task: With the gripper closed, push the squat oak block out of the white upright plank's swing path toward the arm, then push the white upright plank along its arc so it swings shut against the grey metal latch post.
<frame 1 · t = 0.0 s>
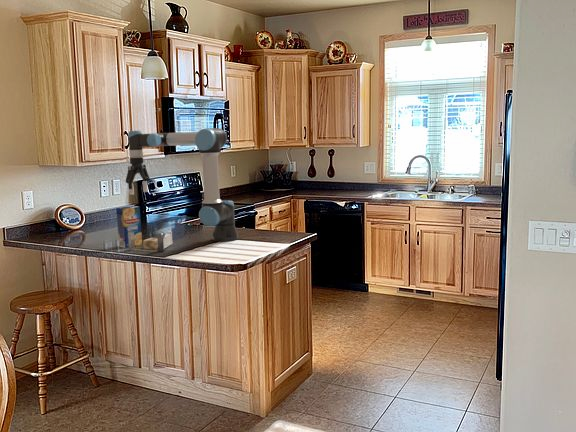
hand: (138, 193, 344), 28 cm above the countertop, fingers open, 13 cm apart
latch post: (132, 249, 320), on the countertop
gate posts: (161, 251, 313), on the countertop
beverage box: (130, 246, 332), on the countertop
oak block: (153, 248, 324), on the countertop
white upright plank: (166, 240, 322), point 4 cm above the countertop, hinge at 75.0°
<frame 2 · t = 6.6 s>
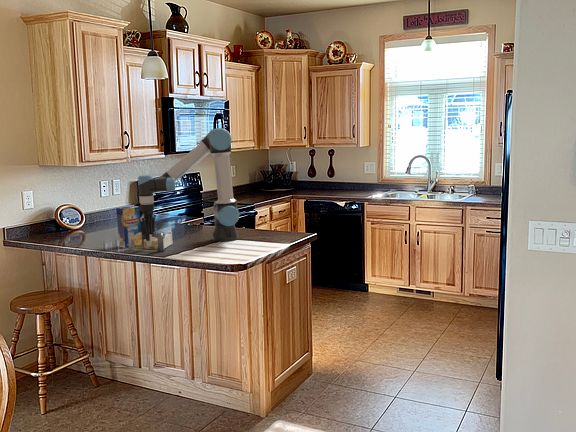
hand: (149, 246, 320), 2 cm above the countertop, fingers closed
oak block: (154, 247, 325), on the countertop, touching gripper
everything else where it was.
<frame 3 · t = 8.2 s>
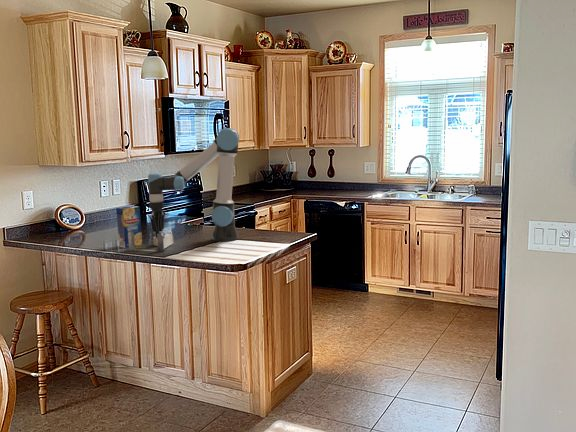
hand: (159, 242, 328), 2 cm above the countertop, fingers closed
oak block: (163, 244, 333), on the countertop, touching gripper
everything else where it was.
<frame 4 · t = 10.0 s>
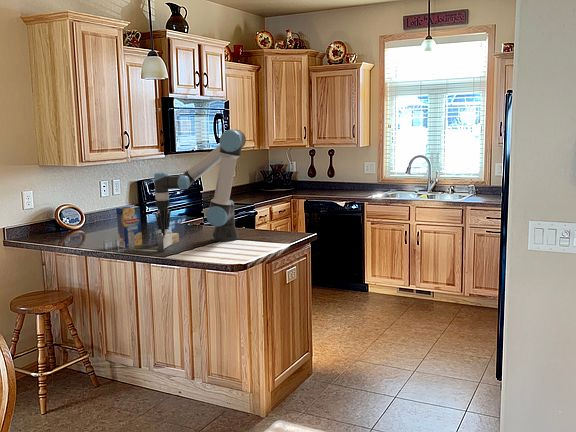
hand: (164, 240, 334), 2 cm above the countertop, fingers closed
oak block: (169, 242, 338), on the countertop
everything else where it was.
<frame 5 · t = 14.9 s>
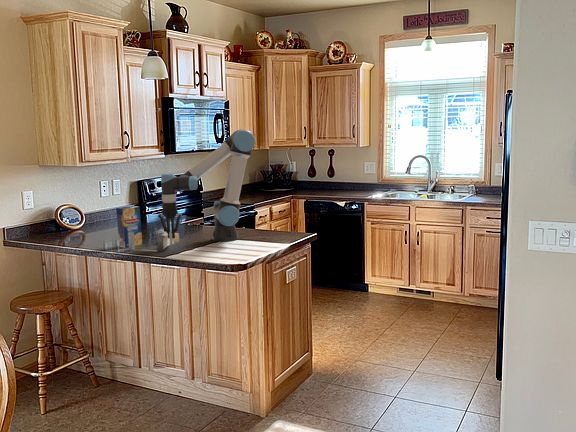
hand: (171, 244, 322), 2 cm above the countertop, fingers closed
white upright plank: (165, 240, 322), point 4 cm above the countertop, hinge at 72.8°, touching gripper
everything else where it was.
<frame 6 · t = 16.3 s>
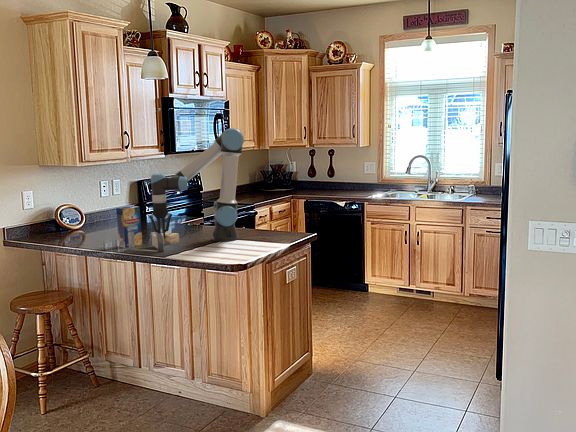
hand: (162, 244, 323), 2 cm above the countertop, fingers closed
white upright plank: (156, 240, 321), point 4 cm above the countertop, hinge at 43.1°, touching gripper
everything else where it was.
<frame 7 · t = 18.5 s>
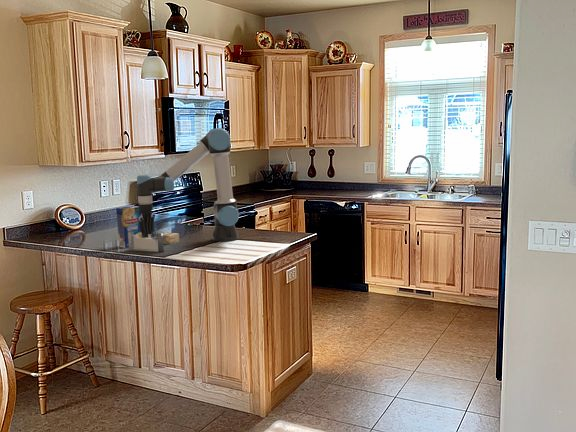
hand: (148, 245, 320), 2 cm above the countertop, fingers closed
white upright plank: (146, 242, 316), point 4 cm above the countertop, hinge at 2.6°, touching gripper
everything else where it was.
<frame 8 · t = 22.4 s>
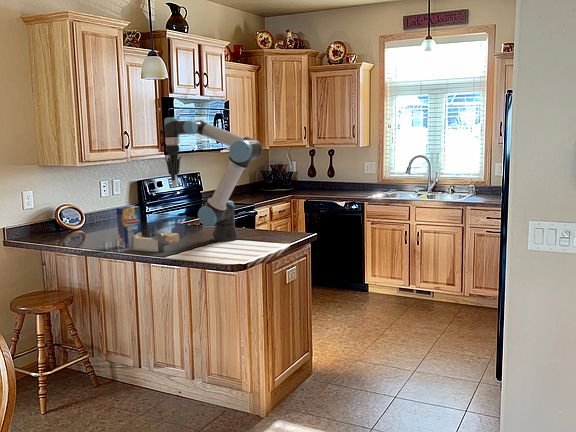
hand: (174, 186, 336), 32 cm above the countertop, fingers closed
white upright plank: (146, 242, 316), point 4 cm above the countertop, hinge at 2.6°
everything else where it was.
at the end: white upright plank at +3° (first picture: +75°); oak block inside the target area (1.3 cm from its centre), on the countertop; oak block tilted 0° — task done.
